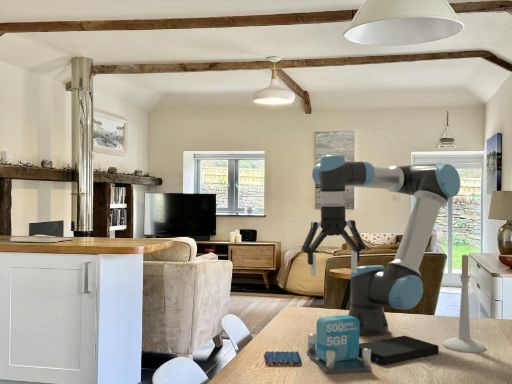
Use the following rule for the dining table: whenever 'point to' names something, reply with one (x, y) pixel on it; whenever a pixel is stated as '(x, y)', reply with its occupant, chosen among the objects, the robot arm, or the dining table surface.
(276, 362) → the woven mat
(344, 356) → the data package
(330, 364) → the chassis
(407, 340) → the external hard drive
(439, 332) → the dining table surface
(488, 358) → the dining table surface
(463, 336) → the candlestick
